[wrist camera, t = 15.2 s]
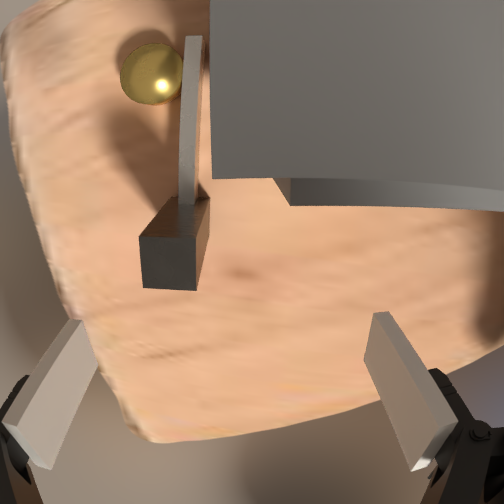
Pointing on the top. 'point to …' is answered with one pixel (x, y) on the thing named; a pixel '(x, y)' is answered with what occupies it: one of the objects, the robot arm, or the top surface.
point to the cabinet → (361, 100)
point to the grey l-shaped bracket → (181, 196)
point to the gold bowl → (152, 74)
